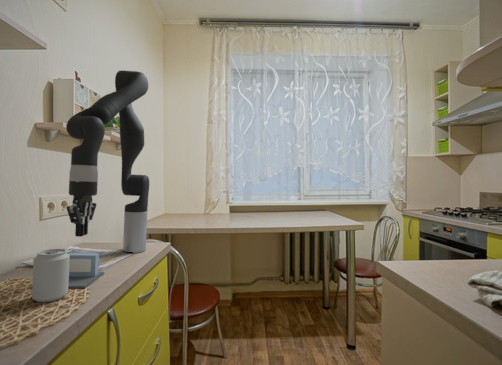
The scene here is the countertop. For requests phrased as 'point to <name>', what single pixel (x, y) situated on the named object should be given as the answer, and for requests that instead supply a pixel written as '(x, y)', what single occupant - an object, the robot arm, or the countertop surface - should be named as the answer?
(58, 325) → the countertop surface
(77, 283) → the mat
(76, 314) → the countertop surface
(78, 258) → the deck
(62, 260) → the can
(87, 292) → the countertop surface
